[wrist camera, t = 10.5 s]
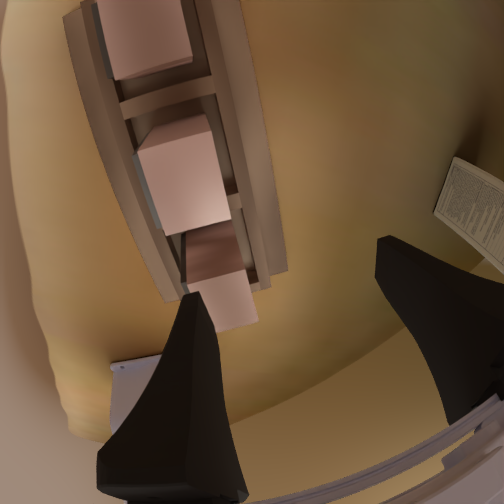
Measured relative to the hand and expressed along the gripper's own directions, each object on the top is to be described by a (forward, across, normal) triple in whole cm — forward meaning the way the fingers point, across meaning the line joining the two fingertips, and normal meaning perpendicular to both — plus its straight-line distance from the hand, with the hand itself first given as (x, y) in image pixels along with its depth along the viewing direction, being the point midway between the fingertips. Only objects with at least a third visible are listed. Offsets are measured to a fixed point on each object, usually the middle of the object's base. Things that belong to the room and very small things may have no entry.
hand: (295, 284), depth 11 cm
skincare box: (+11, -20, +5) cm, 23 cm away
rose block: (+9, +3, -4) cm, 11 cm away
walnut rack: (+10, +3, -4) cm, 11 cm away
